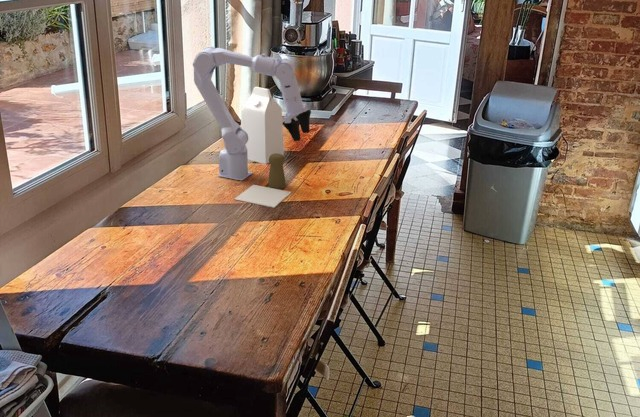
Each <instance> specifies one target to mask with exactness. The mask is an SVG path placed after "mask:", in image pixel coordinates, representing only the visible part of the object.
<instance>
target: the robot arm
mask: <svg viewBox="0 0 640 417" xmlns="http://www.w3.org/2000/svg"><path fill="white" fill-rule="evenodd" d="M225 64H230V65H236V66H240V67H241V66H242V67H246V68H251V69H252V70H253V72H254V73H256V74H261V75H265V76H270V77H273V78H274V77H275V78H277V80H278V81H279V84H280V85H279V87H280V91H281V95H282V98H283V103H284V106H285V111H286V113H285V115H284V117H283V121H282V124H283V127H284V128H285V129H286V130H287V131H288V133H289V135H290V137H291V138H292V140H293V141H294V142H300V141H301V132H302V133H303V134H306V133H307V134H308V133H310V119H311V114H312V111H311V109H308V105H307V103H306V102H305V103H303V100H302V96H301V92H300V88H299V87H300V86H299V84H298V83H299V82H298V80H297V76H296V74H295V71H296V65H295V64H294V62H293V61H292V60H290V59H289V58H283V59H282V58H281V57H277V58H275V57H273V56H272V57H271V56H267V54H266V53H261V54H257V55H255V56H250V55H246V54H243V53H239V52H236V51H232V50H229V49H225V48H222V47H214V46H207V47H205V48H204V49H203V50H202V51H199V52H198V53H197V54H196V55H195V57H194V59H193V62H192V67H193V82H194V85H195V86H196V88H197V90H198V92H199V93H200V96H201V97H202V98H203V100H204V103H205V104H206V106H207V107H208V109H209V111H210V112H211V115H212V116H213V117H214V119H215V121H216V123H217V124H218V127H219V128H220V132H221V138H222V139H223V143H224V148H223V149H222V150H221V151H220V152H219V155H218V172H219V173H218V175H217V177H220V178H225V179H231V180H237V181H241V182H243V181H244V180H246V179H247V178H248V177H250V176H251V175H252V174H253V171H250V170H249V169H248V168H249V165H248V163H249V162H248V161H249V160H248V155H247V148H246V146H245V144H246V143H247V142H248V134H247V133H246V131H244V130H243V129H242V128H241V126H240V125H241V124H239V123H238V122H236V121H235V120H234V118H233V116H232V114H231V112H230V110H229V109H228V107H227V105H226V103H225V101H224V100H223V98H222V97H221V95H220V93H219V91H218V89H217V88H216V86H215V84H214V82H213V81H212V77H213V75H214V72H215V69H216V68H217V67H220V66H222V65H225ZM296 119H297V120H296ZM300 130H301V131H300Z"/></svg>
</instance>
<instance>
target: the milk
mask: <svg viewBox="0 0 640 417" xmlns="http://www.w3.org/2000/svg"><path fill="white" fill-rule="evenodd" d="M270 90H271V89H269V88H264V87H260V86H254V87H253V89H252V91H251V95H250V96H249V97H248V99H247V100H246V101H245V103H244V104H243V107H242V109H241V115H240V117H241V119H240V125H241V126H240V127H241V128H242V129H243V130H244V131H246V133H247V134H248V142H247V143H246V144H245V146H246V148H247V155H248V161H253V162H254V163H255V162H256V163H259V164H264V165H267V164H270V163H269V157H270V155H272V154H275V153H278V154H282V155H283V156H284V157H285V150H284V130H283V127H284V126H283V111H282V110H283V109H282V107H281V105H280V104H279V103H278V102H277V101H276V100H275V99H274V98H273V96H272V94H271V91H270Z"/></svg>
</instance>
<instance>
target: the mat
mask: <svg viewBox="0 0 640 417" xmlns="http://www.w3.org/2000/svg"><path fill="white" fill-rule="evenodd" d="M291 194H292V191H289V190H283V189H273V188H269V187H268V186H267V187H266V186H262V185H256V184H252V185H251V186H250V187H248V188H246V190H244V191H243V192H241V193H240V194H239V195H238V196H236V197H235V198H234V199H233V200H234V201H237V202H242V203H249V204H253V205H258V206H262V207H268V208H273V209H274V208H276V207H277V206H278V205H279V204H280V203H282V201H284V200H285V199H286V198H287V197H288V196H289V195H291Z"/></svg>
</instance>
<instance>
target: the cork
mask: <svg viewBox="0 0 640 417" xmlns="http://www.w3.org/2000/svg"><path fill="white" fill-rule="evenodd" d="M285 159H286V158H285V155H284V156H283V155H282V154H278V153H275V154H272V155H270V157H269V163H268V164H270V166H269V174H268V179H267V180H268V182H267V187H268V188H273V189H279V190H282V189H285V188H286V179H285V178H286V177H285V170H284V164H285Z"/></svg>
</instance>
